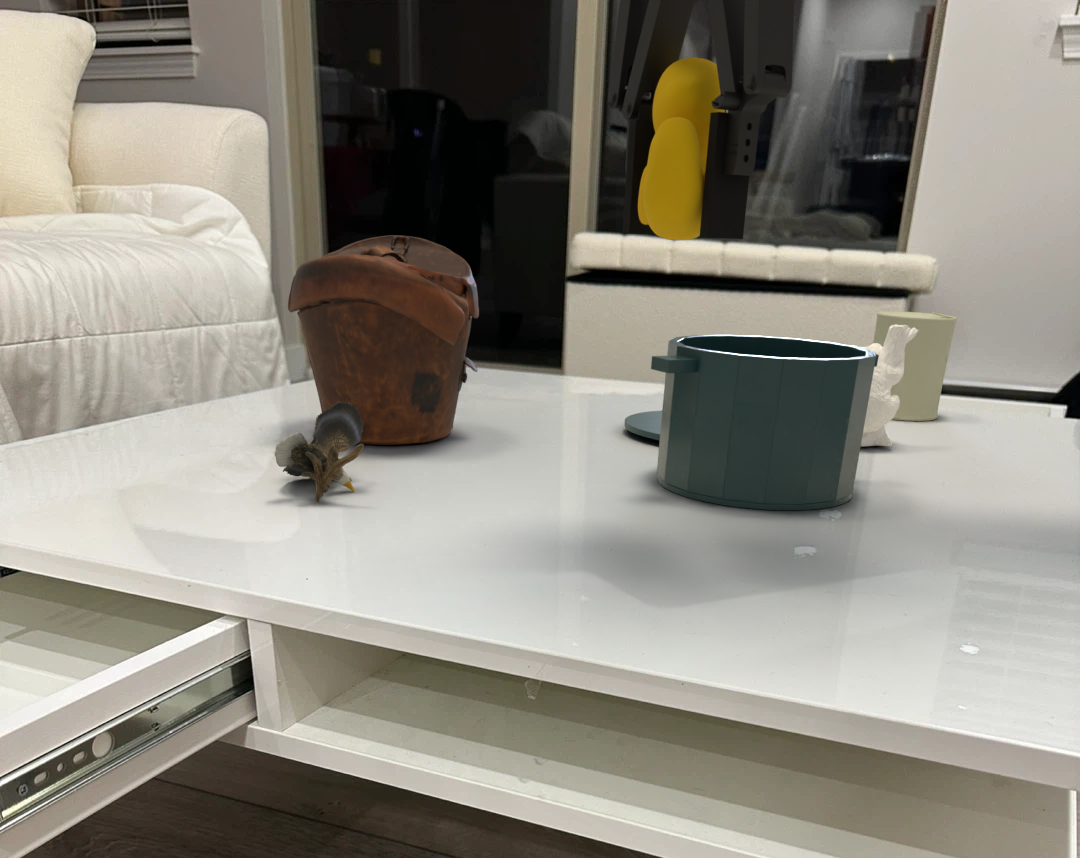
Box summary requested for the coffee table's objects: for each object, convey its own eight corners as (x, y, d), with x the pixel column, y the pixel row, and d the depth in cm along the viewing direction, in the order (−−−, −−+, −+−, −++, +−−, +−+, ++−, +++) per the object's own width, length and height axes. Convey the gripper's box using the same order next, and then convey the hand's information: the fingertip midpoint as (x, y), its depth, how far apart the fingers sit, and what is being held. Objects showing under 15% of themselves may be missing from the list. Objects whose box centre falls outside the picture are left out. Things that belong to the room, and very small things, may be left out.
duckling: (650, 237, 73) (662, 68, 68) (728, 240, 72) (746, 68, 67) (618, 240, 63) (630, 42, 58) (708, 243, 62) (727, 42, 57)
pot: (916, 498, 90) (945, 356, 85) (709, 521, 80) (727, 362, 75) (788, 458, 103) (805, 333, 98) (595, 473, 93) (604, 336, 88)
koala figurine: (879, 437, 115) (900, 320, 110) (920, 450, 109) (944, 328, 104) (814, 440, 112) (832, 320, 107) (852, 453, 106) (873, 327, 101)
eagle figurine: (393, 487, 80) (384, 442, 87) (338, 410, 76) (334, 369, 83) (310, 538, 81) (308, 489, 88) (252, 465, 77) (255, 420, 84)
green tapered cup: (935, 423, 125) (957, 316, 119) (856, 415, 127) (874, 310, 122) (938, 412, 132) (959, 311, 127) (863, 405, 135) (880, 305, 130)
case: (344, 461, 93) (336, 238, 85) (268, 421, 108) (255, 229, 100) (517, 447, 102) (524, 244, 94) (424, 412, 117) (424, 235, 109)
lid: (829, 447, 108) (835, 406, 107) (688, 458, 100) (693, 413, 99) (723, 417, 122) (727, 380, 120) (592, 425, 114) (595, 385, 113)
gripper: (562, -191, 63) (548, 229, 73) (794, -321, 47) (736, 241, 57) (665, -167, 66) (638, 232, 76) (914, -280, 50) (839, 243, 60)
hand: (680, 235), depth 66 cm, fingers closed on duckling, 8 cm apart
